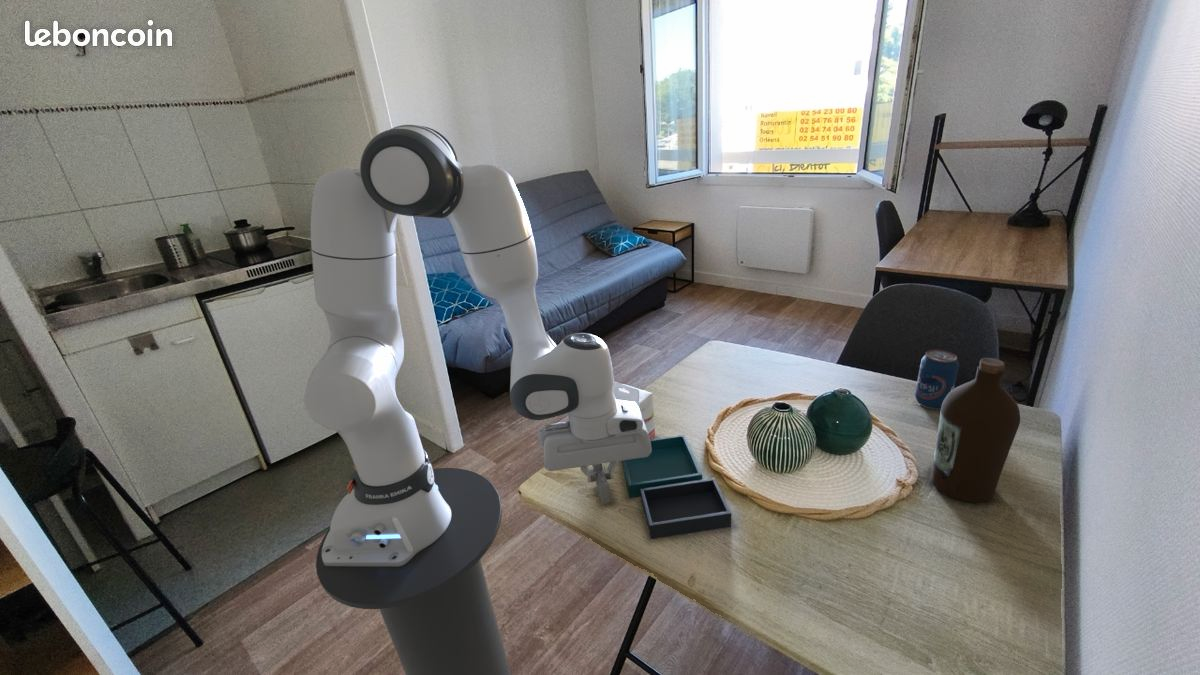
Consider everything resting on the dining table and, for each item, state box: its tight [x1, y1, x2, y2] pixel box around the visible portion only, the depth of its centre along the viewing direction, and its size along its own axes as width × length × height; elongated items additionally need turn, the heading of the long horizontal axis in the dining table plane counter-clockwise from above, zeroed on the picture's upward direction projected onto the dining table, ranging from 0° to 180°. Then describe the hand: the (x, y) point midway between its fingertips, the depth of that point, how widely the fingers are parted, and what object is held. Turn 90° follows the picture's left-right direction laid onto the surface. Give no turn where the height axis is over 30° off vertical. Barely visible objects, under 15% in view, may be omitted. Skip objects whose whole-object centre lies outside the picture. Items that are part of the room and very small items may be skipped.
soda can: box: [914, 349, 960, 410], centre depth 111 cm, size 7×7×12 cm
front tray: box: [640, 477, 732, 540], centre depth 90 cm, size 14×9×3 cm, turn 96°
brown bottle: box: [930, 357, 1021, 504], centre depth 85 cm, size 11×11×25 cm
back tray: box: [620, 434, 703, 499], centre depth 101 cm, size 14×13×3 cm
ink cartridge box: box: [613, 381, 656, 439], centre depth 110 cm, size 9×5×15 cm, turn 50°
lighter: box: [591, 464, 612, 505], centre depth 96 cm, size 7×2×8 cm, turn 15°
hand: (600, 478), depth 97 cm, fingers closed on lighter, 2 cm apart
